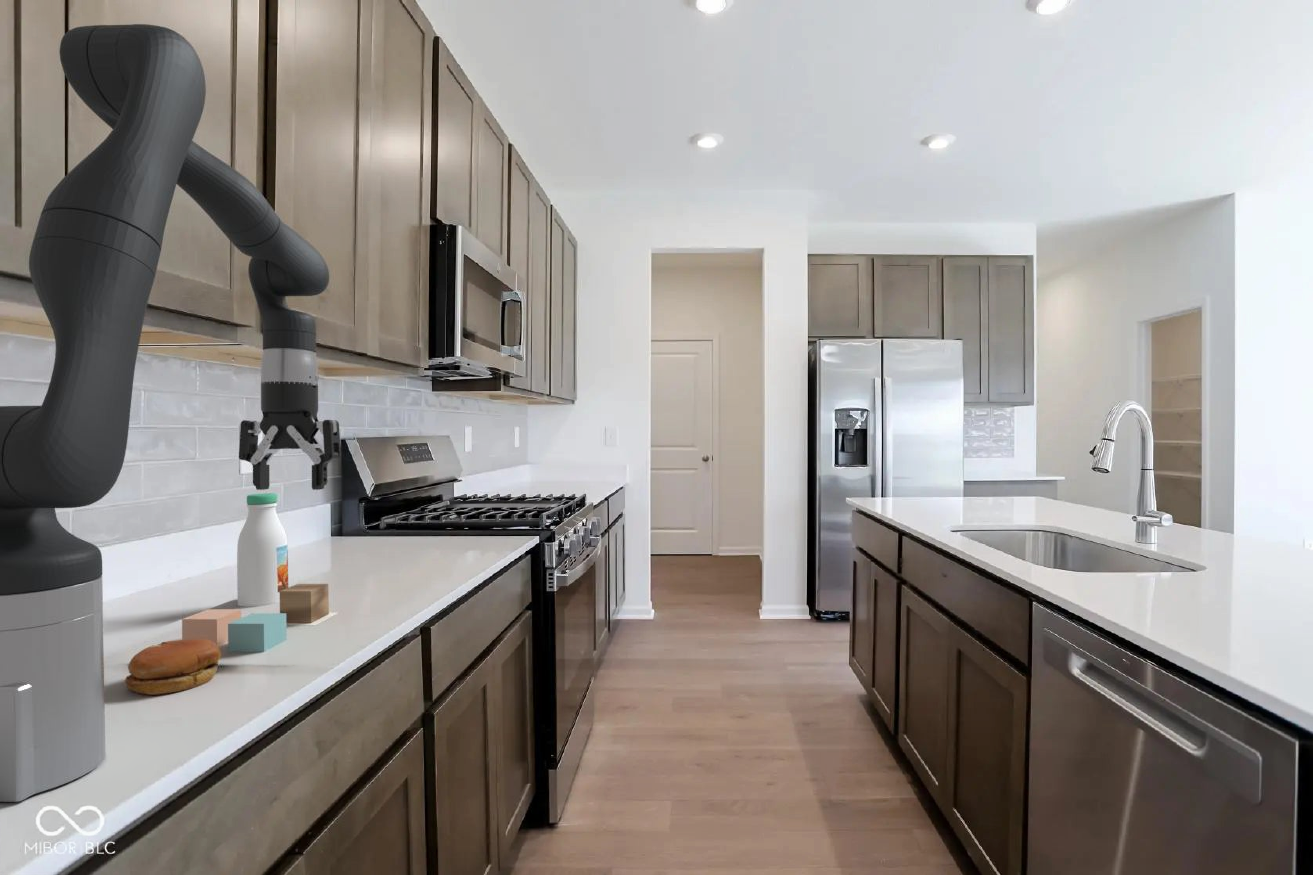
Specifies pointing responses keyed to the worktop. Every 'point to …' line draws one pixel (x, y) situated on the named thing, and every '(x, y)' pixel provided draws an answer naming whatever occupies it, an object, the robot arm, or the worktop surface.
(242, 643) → the teal block
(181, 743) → the worktop surface
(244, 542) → the milk bottle
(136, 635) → the worktop surface
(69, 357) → the robot arm
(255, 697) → the worktop surface
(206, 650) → the burger
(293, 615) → the walnut block
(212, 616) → the terracotta block
